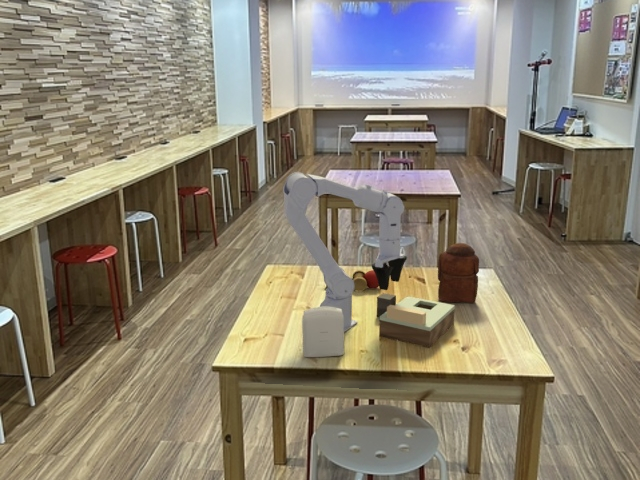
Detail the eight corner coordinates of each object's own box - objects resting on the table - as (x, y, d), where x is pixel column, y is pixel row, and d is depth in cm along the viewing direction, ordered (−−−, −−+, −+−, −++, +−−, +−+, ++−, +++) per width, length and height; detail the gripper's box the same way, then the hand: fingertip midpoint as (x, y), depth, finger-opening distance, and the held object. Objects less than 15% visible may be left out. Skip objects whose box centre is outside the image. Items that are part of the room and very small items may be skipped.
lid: (429, 331, 154) (430, 316, 153) (379, 319, 161) (380, 305, 160) (454, 308, 169) (455, 295, 168) (407, 299, 176) (408, 286, 175)
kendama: (327, 296, 196) (383, 289, 195) (324, 276, 196) (380, 269, 194) (328, 292, 204) (382, 285, 202) (325, 273, 203) (379, 266, 202)
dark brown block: (389, 319, 173) (389, 299, 172) (376, 316, 176) (377, 297, 174) (395, 315, 177) (396, 295, 175) (382, 312, 179) (383, 293, 177)
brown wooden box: (429, 347, 155) (429, 331, 154) (379, 336, 162) (379, 320, 161) (453, 324, 170) (454, 309, 169) (406, 314, 177) (407, 299, 176)
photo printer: (303, 359, 149) (302, 311, 146) (301, 351, 153) (301, 304, 150) (345, 357, 150) (345, 309, 147) (342, 349, 154) (343, 303, 151)
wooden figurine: (474, 297, 191) (477, 241, 187) (477, 304, 185) (481, 246, 181) (435, 295, 192) (438, 240, 188) (437, 303, 186) (440, 245, 182)
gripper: (392, 246, 159) (392, 295, 162) (413, 233, 171) (412, 279, 174) (367, 242, 162) (368, 291, 166) (390, 230, 174) (390, 276, 178)
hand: (389, 285), depth 170 cm, fingers open, 7 cm apart
